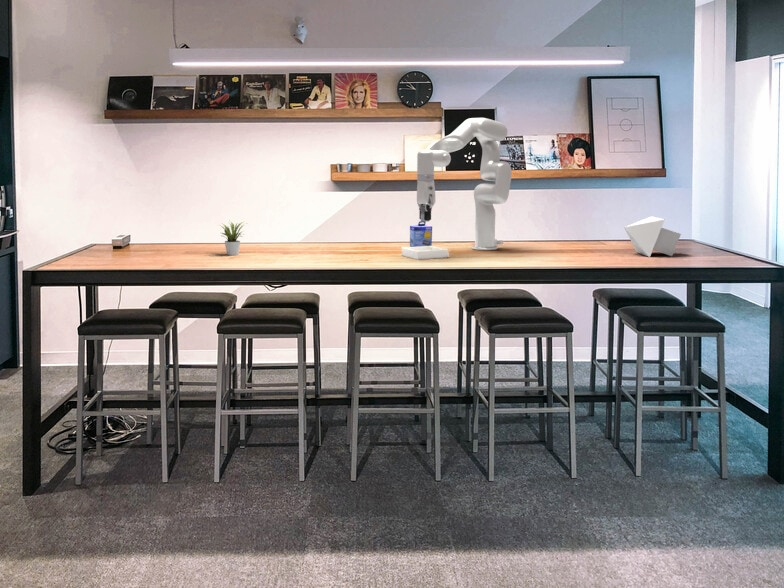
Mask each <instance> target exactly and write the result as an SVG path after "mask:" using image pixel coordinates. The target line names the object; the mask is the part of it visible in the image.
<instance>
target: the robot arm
mask: <svg viewBox="0 0 784 588" xmlns="http://www.w3.org/2000/svg"><path fill="white" fill-rule="evenodd" d="M507 136H508V128H507V126H506V124H504V123H503V122H500V121H498V120H493V119H490V118H486V117H471V118H470V117H469V118H467V119H465V120H464V121H463V122H462V123H461V124H460V125H458V126H457V127H456V128H455V129H454V130H453V131H452V132H451V133H450V134H448V135H445V136H444V137H442V138H440V139H438V140H436V141H434V142H432V143H431V144H430V145H429V146H428V147H427V148H426V149H424V150H419V151H417V156H416V158H417V159H416V160H417V161H416V163H417V165H416V171H417V173H416V174H417V175H416V180H417V181H416V183H417V187H416V202H417V206H418V211H419V212H418V213H419V220H421V205H424V204H425V211H424V220H430V221H431V220H432V211H433V210H432V209H433V207H434V205H435V204H436V187H435V168H444V167H447V166H449V165H450V163H451V160H452V158H451V157H452V156H451V155H450V153H453V152H456V151H459V150H461V149H463V148H464V147H466V145H467V144H469V143H470V142H471V141H472V140H473V139H474V138H475V137H476V139H477V141H478V142H479V144H480V146H481V149H482V151H481V152H482V155H481V162H480V170H479V171H480V172H479V176H480V178H481V179H482V180H483V181H487V182H495V183H479V184H478V185H477V186H475V188H474V190H473V198H474V204H475V205H474V206H475V223H474V224H475V225H474V228H475V233H474V245H472V246H471V249H472V250H476V251H477V250H478V251H494V250H498V249H499V247H498V245H504V240H502V239H501V240H497V239H496V209H495V207H494V205H503V204H504V203H506V202H507V201H508V198H509V196H510V189H511V182H512V173H513V172H512V167H511V165H510V163H508V162H507V161H504V160H500V159H501V149H500V146H499V144H498V142H502V141H504V140H506V137H507ZM427 206H428V207H427Z"/></svg>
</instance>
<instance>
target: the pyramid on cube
mask: <svg viewBox="0 0 784 588" xmlns="http://www.w3.org/2000/svg"><path fill="white" fill-rule="evenodd" d="M664 223H665V219H664V218H660V217H657V216H656V217H655V216H653V215H651V216H649V217H646V218H644V219H641V220H639V221H636V222H634V223H632V224H629V225H626V226H624V227H623V228H624V230H625V232H626V234H627V236H628V238H629V239H630V241H631V244H632V246H633V247H634V250H635V251H636V253H637V254H640V255H643V256H645V257H647V256H648V258H651V255H652V252H653V251H656V252H659V253H661V254H664V255H667V256H669V257H673V256H674V252H675V250H676V248H677V245H678V242H679V240H680V238H681V235H682V234H681V233H679V232H675V231H673V230H671V229H666V228H663V225H664Z"/></svg>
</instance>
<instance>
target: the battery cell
mask: <svg viewBox="0 0 784 588" xmlns="http://www.w3.org/2000/svg"><path fill="white" fill-rule="evenodd" d="M427 207H428V206H427ZM424 211H425V204H424V205H421V219H420V221H426V222H430V221H431V220H424Z"/></svg>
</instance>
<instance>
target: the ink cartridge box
mask: <svg viewBox="0 0 784 588" xmlns="http://www.w3.org/2000/svg"><path fill="white" fill-rule="evenodd" d="M426 222H427V221H421V220H420V221H418V224H416V225H409V247H421V246H433V241H432V240H433V225H430V224H429V225H428V224H427V225H426Z"/></svg>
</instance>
